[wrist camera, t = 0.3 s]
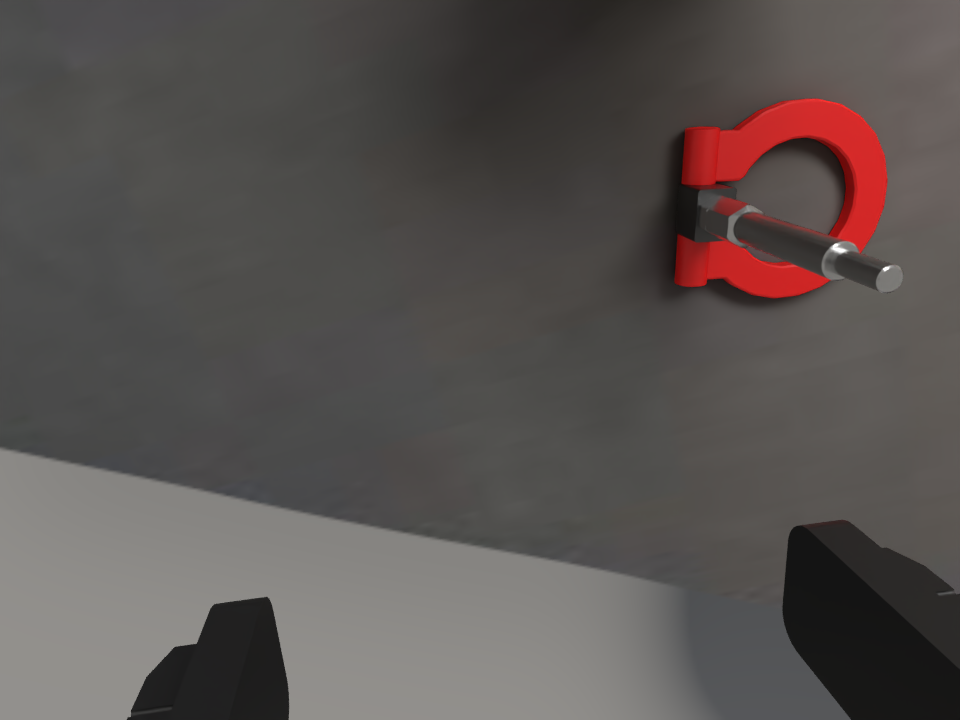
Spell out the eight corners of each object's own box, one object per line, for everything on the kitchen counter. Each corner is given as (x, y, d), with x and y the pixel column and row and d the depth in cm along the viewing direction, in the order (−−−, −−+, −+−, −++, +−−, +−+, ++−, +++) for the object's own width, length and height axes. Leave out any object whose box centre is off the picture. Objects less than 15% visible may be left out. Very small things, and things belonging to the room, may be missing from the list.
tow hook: (886, 94, 29) (678, 104, 28) (1237, 93, 17) (893, 109, 16) (853, 285, 32) (665, 299, 31) (1129, 398, 20) (836, 426, 19)
